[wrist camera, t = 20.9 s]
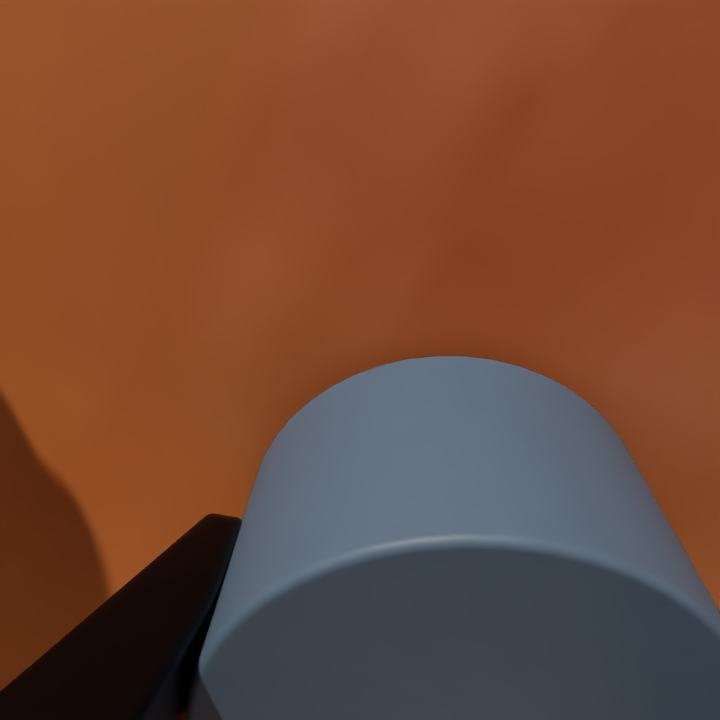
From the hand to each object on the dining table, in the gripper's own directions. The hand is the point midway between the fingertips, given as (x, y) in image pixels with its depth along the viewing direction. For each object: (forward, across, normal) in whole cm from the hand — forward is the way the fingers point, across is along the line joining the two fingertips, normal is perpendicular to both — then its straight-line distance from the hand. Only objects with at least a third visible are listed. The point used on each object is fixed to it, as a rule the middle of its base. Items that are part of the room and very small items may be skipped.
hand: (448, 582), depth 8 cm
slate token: (+1, 0, 0) cm, 1 cm away
